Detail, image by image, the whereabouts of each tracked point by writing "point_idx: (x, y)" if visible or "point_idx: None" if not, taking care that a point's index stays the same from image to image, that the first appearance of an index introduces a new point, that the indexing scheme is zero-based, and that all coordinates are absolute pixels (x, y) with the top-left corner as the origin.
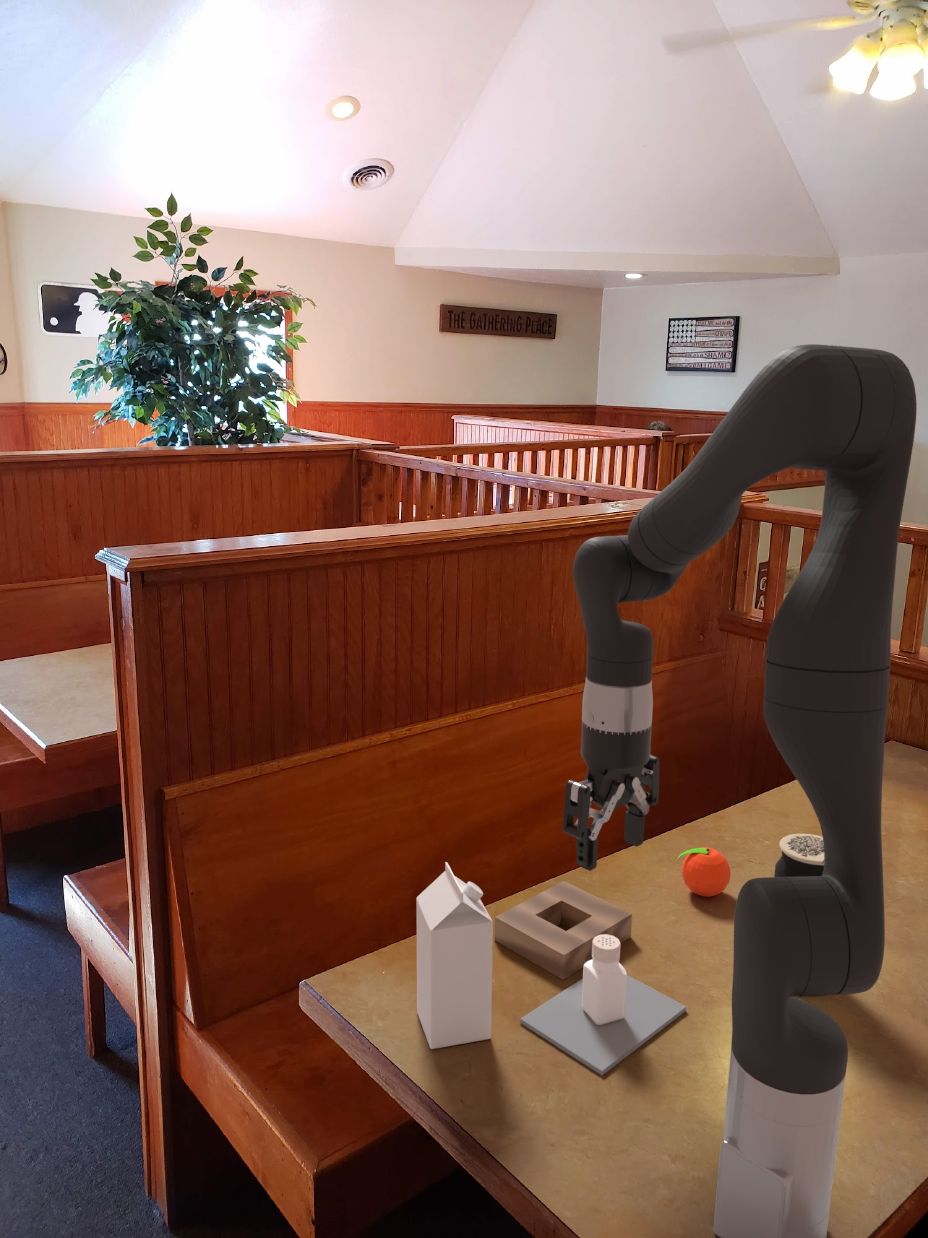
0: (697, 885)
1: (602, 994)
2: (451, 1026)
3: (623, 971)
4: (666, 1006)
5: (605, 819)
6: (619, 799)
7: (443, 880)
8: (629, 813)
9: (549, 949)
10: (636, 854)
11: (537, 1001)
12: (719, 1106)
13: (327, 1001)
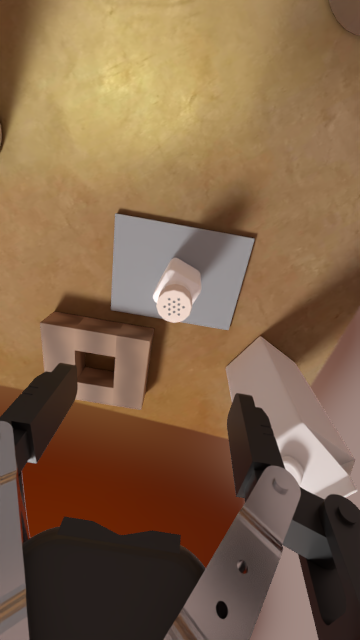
0: None
1: (198, 279)
2: (290, 364)
3: (169, 274)
4: (128, 231)
5: (257, 528)
6: (126, 584)
7: None
8: (34, 453)
9: (148, 355)
10: None
11: (193, 331)
12: (233, 109)
13: None
